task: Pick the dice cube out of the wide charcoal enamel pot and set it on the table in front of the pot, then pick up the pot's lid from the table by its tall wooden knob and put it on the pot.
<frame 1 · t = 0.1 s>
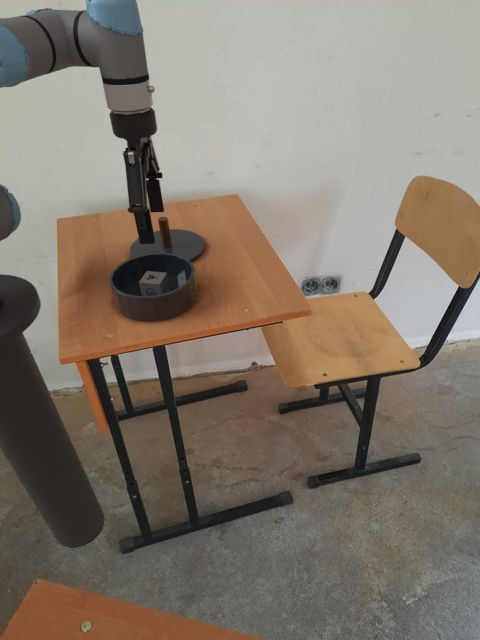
hand: (152, 226, 93), 22 cm above the table, tool pointing down, fingers open, 13 cm apart
lid: (167, 248, 130), point 1 cm above the table
dice cube: (156, 296, 113), resting on pot
pot: (156, 297, 113), on the table
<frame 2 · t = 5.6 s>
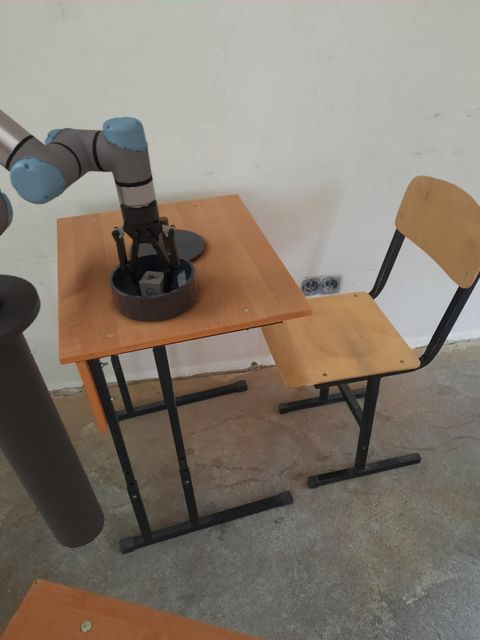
hand: (156, 294, 113), 1 cm above the table, tool pointing down, fingers closed on dice cube, 6 cm apart
dice cube: (156, 296, 113), resting on pot, touching gripper
everything else where it was.
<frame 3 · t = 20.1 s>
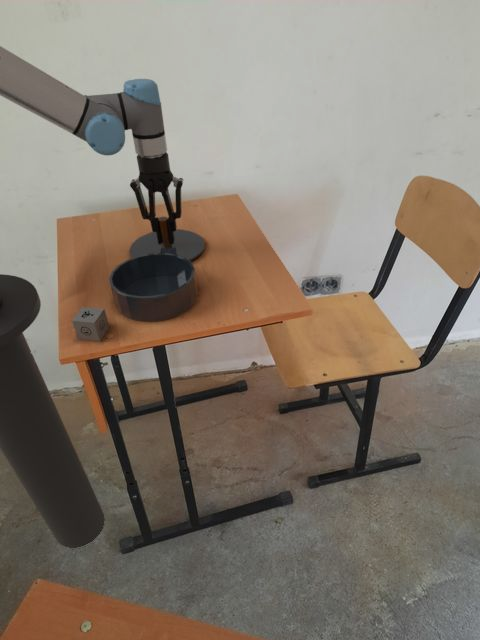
hand: (166, 241, 129), 3 cm above the table, tool pointing down, fingers closed on lid, 3 cm apart
lid: (167, 248, 130), point 1 cm above the table, touching gripper
dice cube: (94, 333, 103), on the table
when the fingers open (8 cm above the table, at t = 26.8 s): lid stays where it is, resting on pot.
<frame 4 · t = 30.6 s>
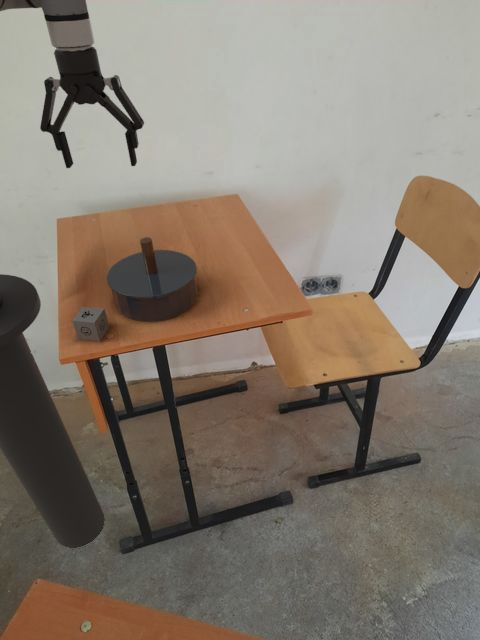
hand: (102, 165, 100), 29 cm above the table, tool pointing down, fingers open, 13 cm apart
lid: (152, 273, 109), point 6 cm above the table, touching pot
everything else where it was.
at the end: dice cube inside the target area (0.1 cm from its centre), on the table; lid 0.0 cm off-centre on the pot, point 6.5 cm above the pot's base; lid tilted 0° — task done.
